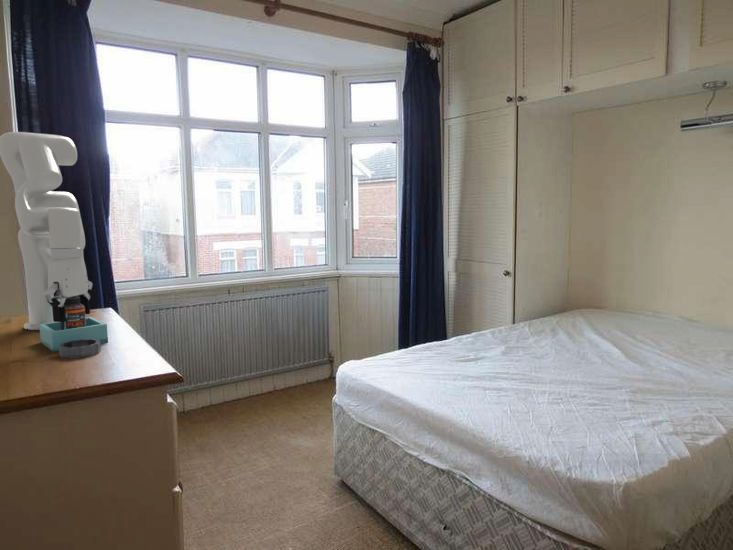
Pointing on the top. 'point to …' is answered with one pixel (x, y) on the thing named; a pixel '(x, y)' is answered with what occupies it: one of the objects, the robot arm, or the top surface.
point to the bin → (72, 333)
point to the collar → (79, 348)
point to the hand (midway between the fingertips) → (72, 317)
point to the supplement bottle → (73, 314)
